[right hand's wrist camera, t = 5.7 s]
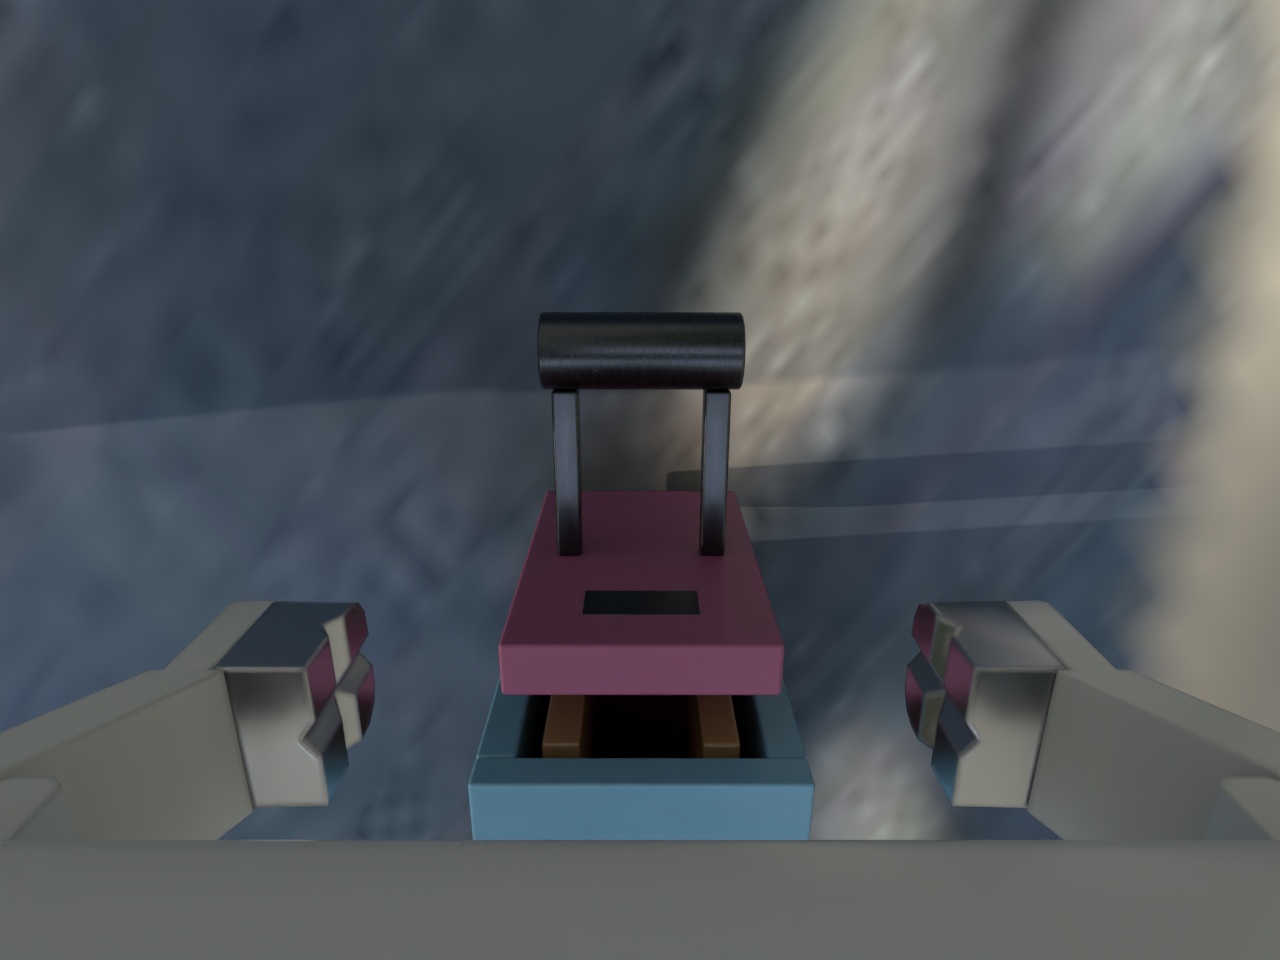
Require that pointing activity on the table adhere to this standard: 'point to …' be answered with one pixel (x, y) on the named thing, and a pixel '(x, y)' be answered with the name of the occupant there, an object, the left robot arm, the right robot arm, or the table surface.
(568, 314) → the drawer
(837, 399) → the table surface
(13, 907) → the right robot arm
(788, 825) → the cabinet
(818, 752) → the table surface
